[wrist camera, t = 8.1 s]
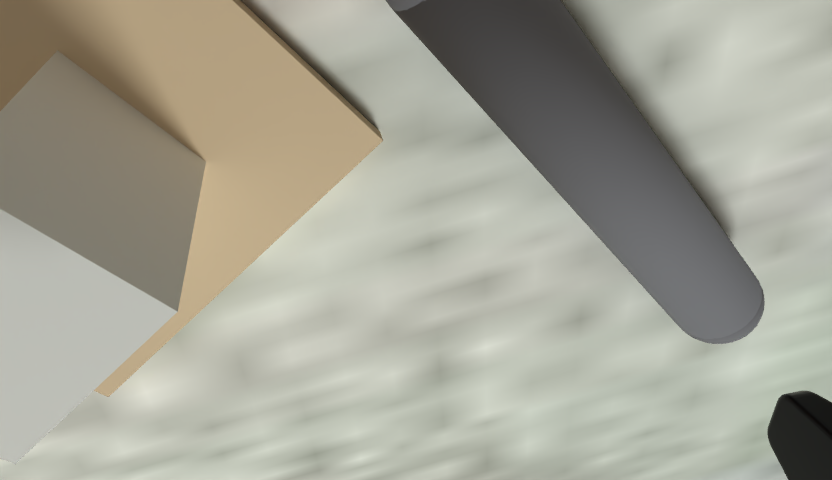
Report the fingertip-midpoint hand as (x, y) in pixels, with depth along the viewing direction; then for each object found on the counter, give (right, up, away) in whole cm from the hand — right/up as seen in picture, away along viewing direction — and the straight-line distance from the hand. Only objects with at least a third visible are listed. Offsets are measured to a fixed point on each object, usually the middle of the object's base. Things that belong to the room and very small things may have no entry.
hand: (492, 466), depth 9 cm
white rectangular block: (-10, +5, +6) cm, 12 cm away
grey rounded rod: (+4, +6, +10) cm, 12 cm away
